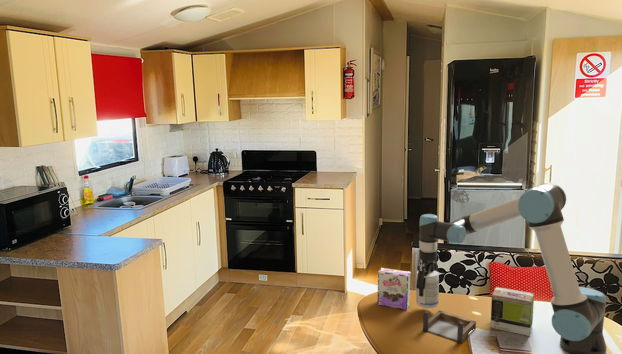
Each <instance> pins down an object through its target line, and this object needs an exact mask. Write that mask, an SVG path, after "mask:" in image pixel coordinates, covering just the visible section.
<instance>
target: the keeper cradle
mask: <svg viewBox="0 0 622 354" xmlns="http://www.w3.org/2000/svg"><path fill="white" fill-rule="evenodd" d="M422 314H423V315H422V316H423V317H422V332H424V333H431V334H434V335H437V336H440V337H443V338H445V339H449V340H452V341H455V342H456V343H458V344H463V343H464V341H465V340H466V339H467V338H468V337H469V336H468V333H469V332H470V331H471V330H473V329H476V327H477V326H476V325H477V321H475V320H472V319H468V318H465V317H463V316H459V315H455V314H452V313H449V312H445V311H442V310H437V312H436V313H435V314H433V315H432V316H431V317H430V318H429V311H423V313H422Z"/></svg>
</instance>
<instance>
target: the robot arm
mask: <svg viewBox="0 0 622 354" xmlns="http://www.w3.org/2000/svg"><path fill="white" fill-rule="evenodd" d="M566 203H567V195H566V192H565V190H564V189H563V188H562V187H561V186H559V185H557V184H555V183H552V182H551V183H550V182H548V183H545V182H544V183H542V184H540V185H537V186H534V187H531V188H529V189H527V190H526V191H524V192H523V193H522V194H521V196H520V197H516V198H514V199H511V200H508V201H506V202H503V203H500V204H497V205H494V206H491V207H489V208H486V209H483V210H480V211H477V212H474V213H472V214H468V215H464V216H462V217H460V218H458V219H455V220H453V221H450V222H444V221H439V217H438V216H437V215H435V214H434V213H433V214H432V213H426V214H425V213H424V214H422V215H421V216H420V218H419V224H418V225H419V241H418V243H419V245H418V246H419V247H418V248H419V251H418V252H419V253H418V258H419V259H420V261H421V265H418V266H417V269H418V270H417V271H418V277H417V285H416V286H415V289H416V288H417V289H419V302H420V303H424V304H425V291H426V289H424V288H425V283H426V278H424V276H427V275H428V274H429V271H434V270H435V271H437V272H438V273H439V269H438V251H437V250H438V240H439V241H445V242H448V243H451V244H462V243H463V242H464V240H465V239H466V236H467V235H470V234H473V233H476V232H479V231H482V230H486V229H488V228H489V229H490V228H492V227H495V226H499V225H502V224H505V223H507V222H512V221H515V220H517V219H518V220H519V219H520V218H523V219H524V220H525V221H526V223H527V226H528V228H529V229H531V230H532V231H534V233H535V237H536V240H537V243H538V246H539V250H540V253H541V257H542V260H543V264H544V266H545V271H546V273H547V274H546V275H547V277H548V280H549V284H550V287H551V291H552V293H553V297H552V298H551V299H550V304H551V306H552V310H553V314H552V316H551V325H552V327H553V330H554V331H555V333H557V335H558V336H560V339H559V345H560V346H561V348H562V349H564V350H565V351H566V352H568V353H569V354H607V344H606V341H605V336H604V334H603V330H604V321H605V313H606V305H607V297H606V295H605V294H604V292H601V291H600V290H597V289H593V288H589V287H585V286H584V287H583V286H579V282H578V280H577V276H576V272H575V270H574V267H573V263H572V259H571V256H570V255H571V254H570V252H569V249H568V247H567V243H566V239H565V235H564V233H563V229H562V224H563V222H564V221H565V219H564V216H563V213H562V210H563V209H564V208H565V206H566ZM425 271H427V272H425Z"/></svg>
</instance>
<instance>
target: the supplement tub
mask: <svg viewBox="0 0 622 354" xmlns="http://www.w3.org/2000/svg"><path fill="white" fill-rule="evenodd" d="M425 272H427V271H425ZM415 277H416V279H415V280H416V281H415V282H416V285H417V277H418V270H417V271H416V276H415ZM424 278H426V283H425V288H424V289H426V291H425V304H424V303H420V302H419V289H417V288H416V287H415V289H416V297H415V298H416V304H417V305H418V307H421V308H425V309H433V308H436V307H438V306H439V303H440V302H439V300H440V299H439V297H440V294H439V293H440V292H439V289H440V286H439V284H440V283H439V281H440V278H439V271H438V272H437V271H435V270H434V271H429V274H428V275H427V276H424Z"/></svg>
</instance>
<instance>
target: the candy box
mask: <svg viewBox="0 0 622 354" xmlns="http://www.w3.org/2000/svg"><path fill="white" fill-rule="evenodd" d="M411 273H412V272H411V271H409V270H408V271H406V270H399V269H393V268H385V267H380V269H379V270H378V272H377V306H379V305H382V306H381V307H385V306H386V307H385V308H391V309H397V310H398V309H399V310H403V311H408V309H409V308H410V306H409V305H410V303H411V302H410V299H411V298H410V294H411Z"/></svg>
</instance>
